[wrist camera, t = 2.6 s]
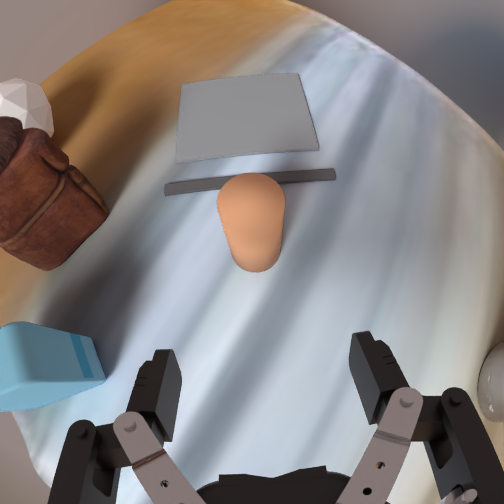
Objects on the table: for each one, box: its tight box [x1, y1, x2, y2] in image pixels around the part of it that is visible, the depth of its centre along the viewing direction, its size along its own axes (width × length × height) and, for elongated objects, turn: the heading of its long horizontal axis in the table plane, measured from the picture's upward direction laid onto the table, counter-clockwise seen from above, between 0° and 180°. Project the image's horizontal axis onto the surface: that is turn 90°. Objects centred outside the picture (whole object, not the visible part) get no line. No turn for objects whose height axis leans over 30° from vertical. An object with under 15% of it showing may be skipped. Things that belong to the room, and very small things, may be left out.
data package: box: [0, 322, 106, 412], centre depth 20 cm, size 12×4×12 cm, turn 117°
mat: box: [164, 73, 335, 196], centre depth 35 cm, size 18×18×1 cm
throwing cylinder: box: [217, 173, 285, 272], centre depth 25 cm, size 5×5×9 cm
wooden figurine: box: [0, 116, 108, 271], centre depth 23 cm, size 12×6×18 cm, turn 134°
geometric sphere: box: [0, 78, 54, 137], centre depth 30 cm, size 14×15×15 cm
